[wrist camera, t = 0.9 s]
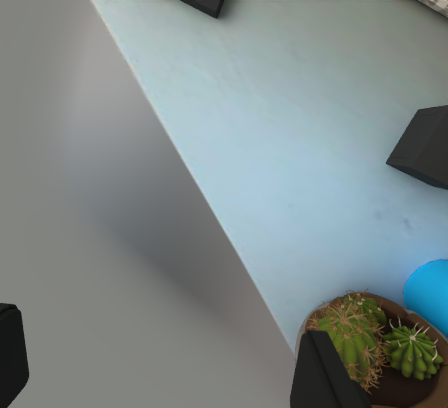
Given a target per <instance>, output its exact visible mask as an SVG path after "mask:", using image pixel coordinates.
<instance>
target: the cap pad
mask: <svg viewBox="0 0 448 408" xmlns="http://www.w3.org/2000/svg"><path fill="white" fill-rule="evenodd" d="M386 164H388V165H390V166H392V167H394V168H396V169H398V170H400V171H402V172H404V173H407V174H409V175H411V176H413V177H415V178H417V179H419V180H421V181H423V182H425V183H427V184H429V185H431V186H434V187H438V188H442V189H447V190H448V105H446V106H439V107H432V108H426V109H419V110H418V111H417V113H416V114H415V116H414V117H413V119H412V120H411V122H410V124H409V125H408V127H407V129H406V130H405V132H404V134H403V135H402V137H401V139H400V140H399V142H398V143H397V145H396V147H395V148H394V150H393V152H392V153H391V155H390V157H389V159H388V160H387V162H386Z"/></svg>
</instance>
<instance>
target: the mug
mask: <svg viewBox="0 0 448 408" xmlns="http://www.w3.org/2000/svg"><path fill="white" fill-rule="evenodd" d="M403 295H404V302H405V304H406V306H407V308H408V309H409V310H411V311H414V312H415V313H417V314H418V315H419V316H421V317H422V318H424V319H425V320H426V321H428V322H429V323H430V324H432V325H433V326H434V327H435V328H437V329H438V330H439V331H440V332H441V333H442V334H443V335H444V336H445V337H446V338H447V339H448V260H437V261H432V262H429V263H427V264H425V265H423V266H421V267H419V268H418V269H417V270H416V271H415V272H414V273H413V274H412V275H411V276H410V278H409V279H408V281H407V282H406V284H405V288H404V292H403Z"/></svg>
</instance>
